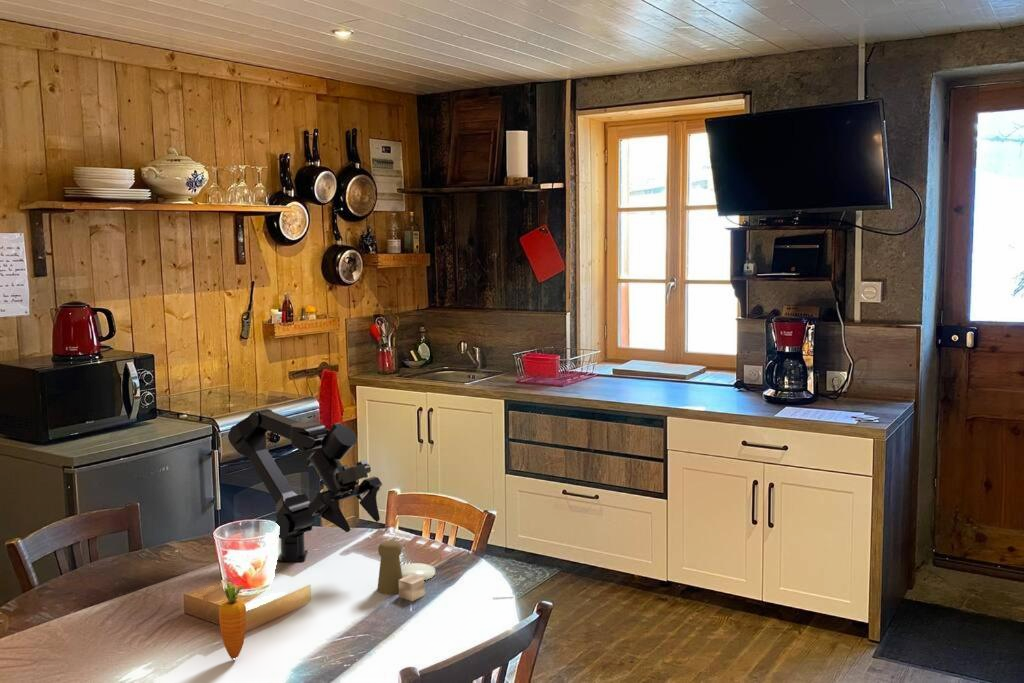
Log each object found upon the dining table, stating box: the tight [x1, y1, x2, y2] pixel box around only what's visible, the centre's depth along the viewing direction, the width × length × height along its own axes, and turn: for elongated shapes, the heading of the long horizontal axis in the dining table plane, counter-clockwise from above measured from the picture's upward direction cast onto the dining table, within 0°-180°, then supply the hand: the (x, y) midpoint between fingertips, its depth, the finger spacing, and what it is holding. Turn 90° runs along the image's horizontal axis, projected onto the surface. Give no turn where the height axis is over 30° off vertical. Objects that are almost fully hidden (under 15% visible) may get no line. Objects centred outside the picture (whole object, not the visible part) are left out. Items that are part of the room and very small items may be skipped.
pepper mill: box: [376, 539, 403, 595], centre depth 202 cm, size 6×6×11 cm
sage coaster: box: [401, 562, 436, 581], centre depth 211 cm, size 10×10×1 cm
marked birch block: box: [398, 575, 426, 602], centre depth 198 cm, size 4×4×4 cm
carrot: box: [218, 581, 247, 659], centre depth 168 cm, size 5×5×15 cm
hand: (363, 525), depth 206 cm, fingers open, 9 cm apart
